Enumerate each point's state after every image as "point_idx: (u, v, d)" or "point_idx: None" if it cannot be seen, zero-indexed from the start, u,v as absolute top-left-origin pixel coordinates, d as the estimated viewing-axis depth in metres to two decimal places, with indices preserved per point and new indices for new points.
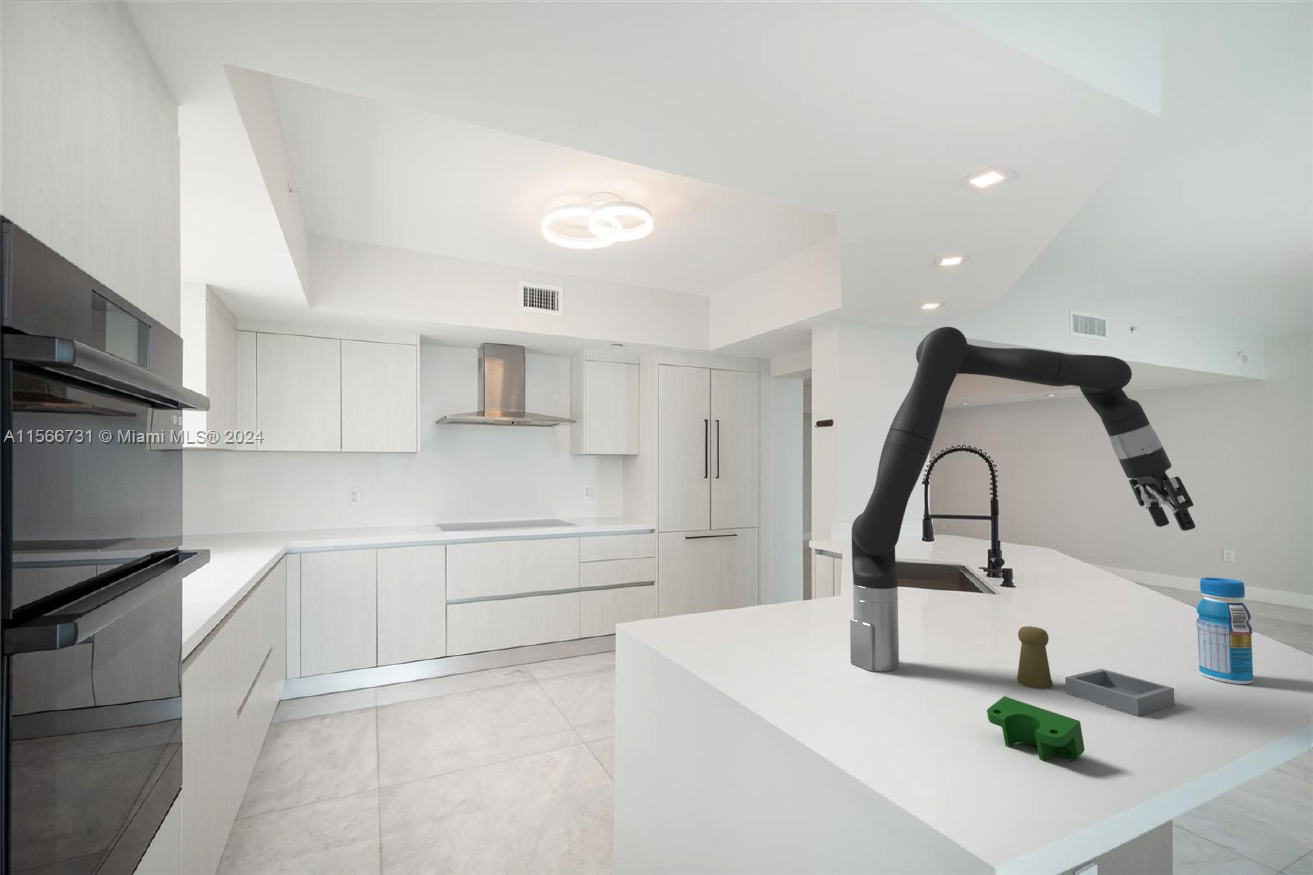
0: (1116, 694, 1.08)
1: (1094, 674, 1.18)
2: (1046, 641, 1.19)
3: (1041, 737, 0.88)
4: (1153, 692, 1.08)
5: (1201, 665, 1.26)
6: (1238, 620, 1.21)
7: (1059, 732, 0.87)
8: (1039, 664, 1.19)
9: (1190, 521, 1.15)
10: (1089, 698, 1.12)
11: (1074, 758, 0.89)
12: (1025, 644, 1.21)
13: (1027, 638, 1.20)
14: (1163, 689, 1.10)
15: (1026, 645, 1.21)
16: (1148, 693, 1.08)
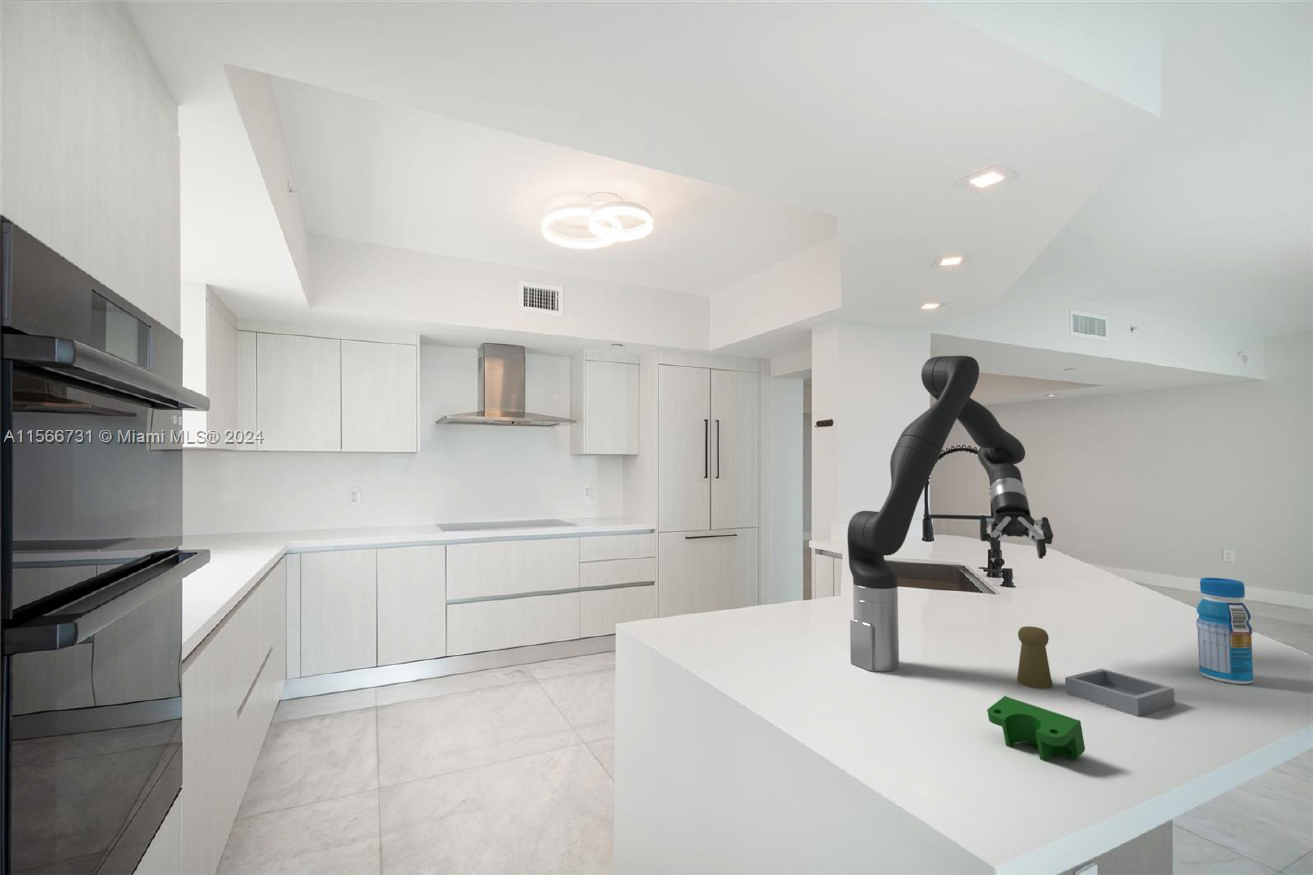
0: (1116, 694, 1.08)
1: (1094, 674, 1.18)
2: (1046, 641, 1.19)
3: (1041, 737, 0.88)
4: (1153, 692, 1.08)
5: (1201, 665, 1.26)
6: (1238, 620, 1.21)
7: (1059, 732, 0.87)
8: (1039, 664, 1.19)
9: None
10: (1089, 698, 1.12)
11: (1074, 758, 0.89)
12: (1025, 644, 1.21)
13: (1027, 638, 1.20)
14: (1163, 689, 1.10)
15: (1026, 645, 1.21)
16: (1148, 693, 1.08)
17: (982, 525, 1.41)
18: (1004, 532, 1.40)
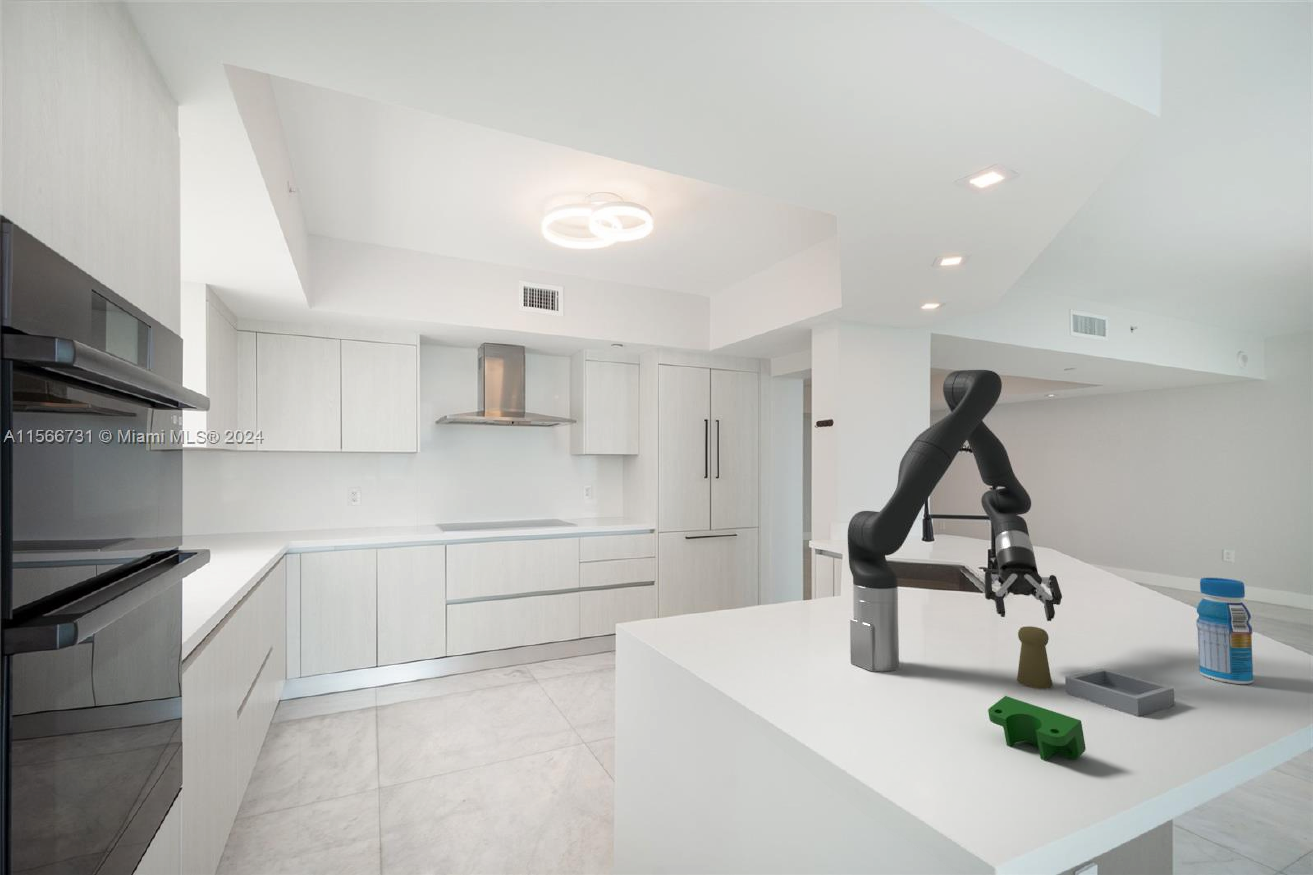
0: (1116, 694, 1.08)
1: (1094, 674, 1.18)
2: (1046, 641, 1.19)
3: (1042, 737, 0.88)
4: (1153, 692, 1.08)
5: (1201, 665, 1.26)
6: (1238, 620, 1.21)
7: (1060, 731, 0.88)
8: (1039, 664, 1.19)
9: None
10: (1089, 698, 1.12)
11: (1075, 757, 0.89)
12: (1025, 644, 1.21)
13: (1027, 638, 1.20)
14: (1163, 689, 1.10)
15: (1026, 645, 1.21)
16: (1148, 693, 1.08)
17: (987, 582, 1.35)
18: (1010, 590, 1.33)
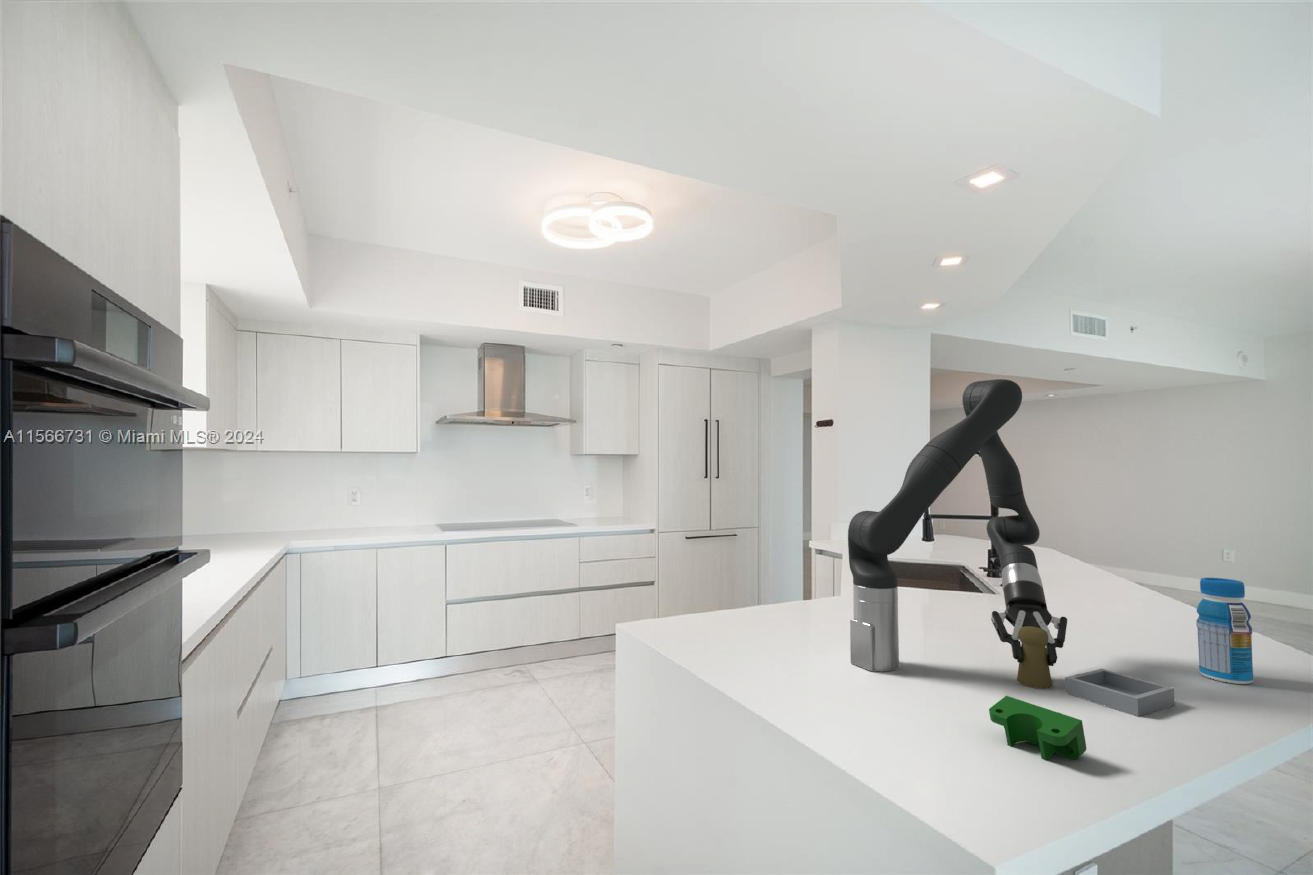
0: (1116, 694, 1.08)
1: (1094, 674, 1.18)
2: (1046, 641, 1.19)
3: (1043, 736, 0.88)
4: (1153, 692, 1.08)
5: (1201, 665, 1.26)
6: (1238, 620, 1.21)
7: (1061, 731, 0.88)
8: (1039, 664, 1.19)
9: None
10: (1089, 698, 1.12)
11: (1076, 757, 0.89)
12: (1025, 644, 1.21)
13: (1027, 638, 1.20)
14: (1163, 689, 1.10)
15: (1026, 645, 1.21)
16: (1148, 693, 1.08)
17: (999, 624, 1.26)
18: None
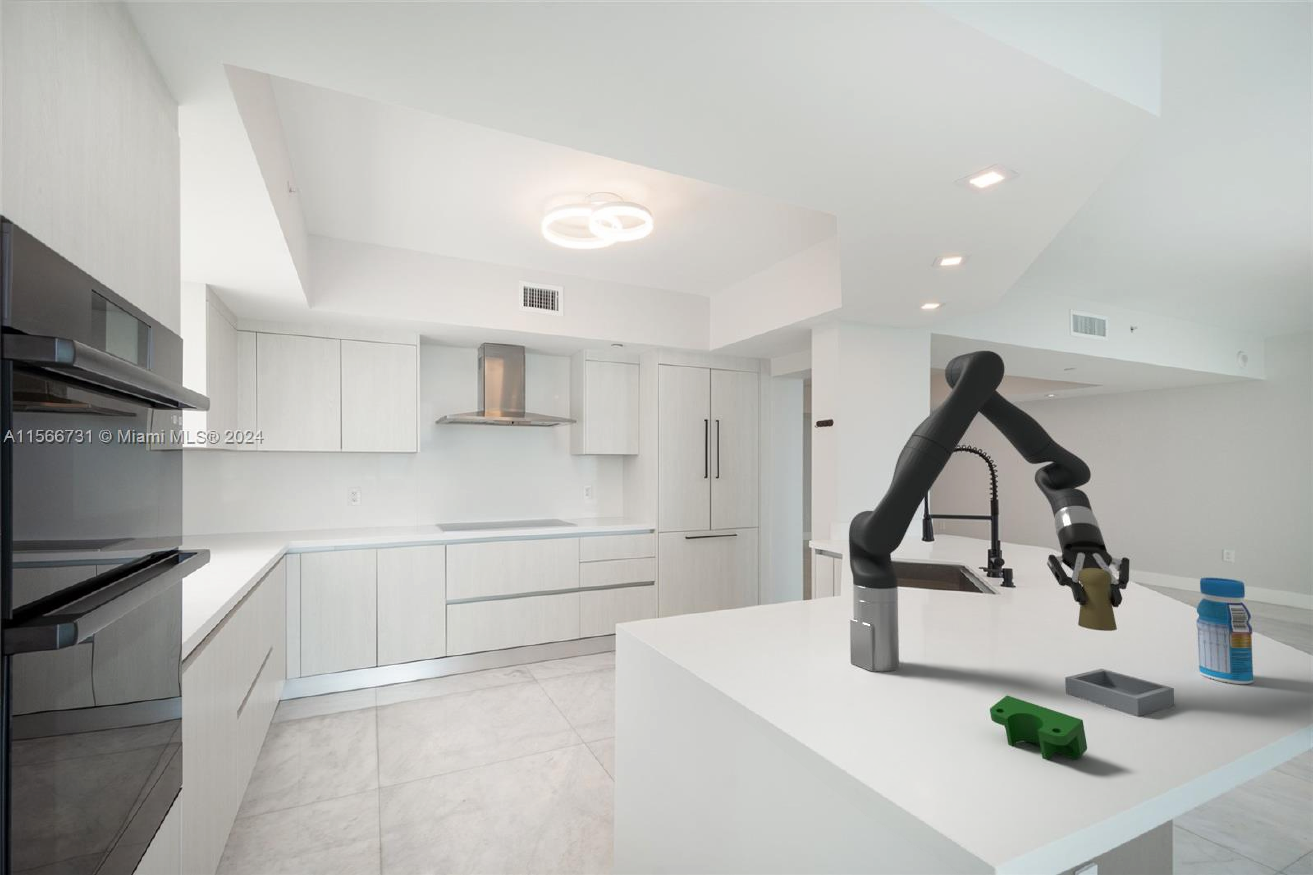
0: (1116, 694, 1.08)
1: (1094, 674, 1.18)
2: (1110, 581, 1.14)
3: (1044, 736, 0.88)
4: (1153, 692, 1.08)
5: (1201, 665, 1.26)
6: (1238, 620, 1.21)
7: (1062, 731, 0.88)
8: (1103, 605, 1.14)
9: None
10: (1089, 698, 1.12)
11: (1077, 757, 0.89)
12: (1087, 586, 1.16)
13: (1090, 579, 1.15)
14: (1163, 689, 1.10)
15: (1088, 586, 1.16)
16: (1148, 693, 1.08)
17: (1057, 567, 1.21)
18: None
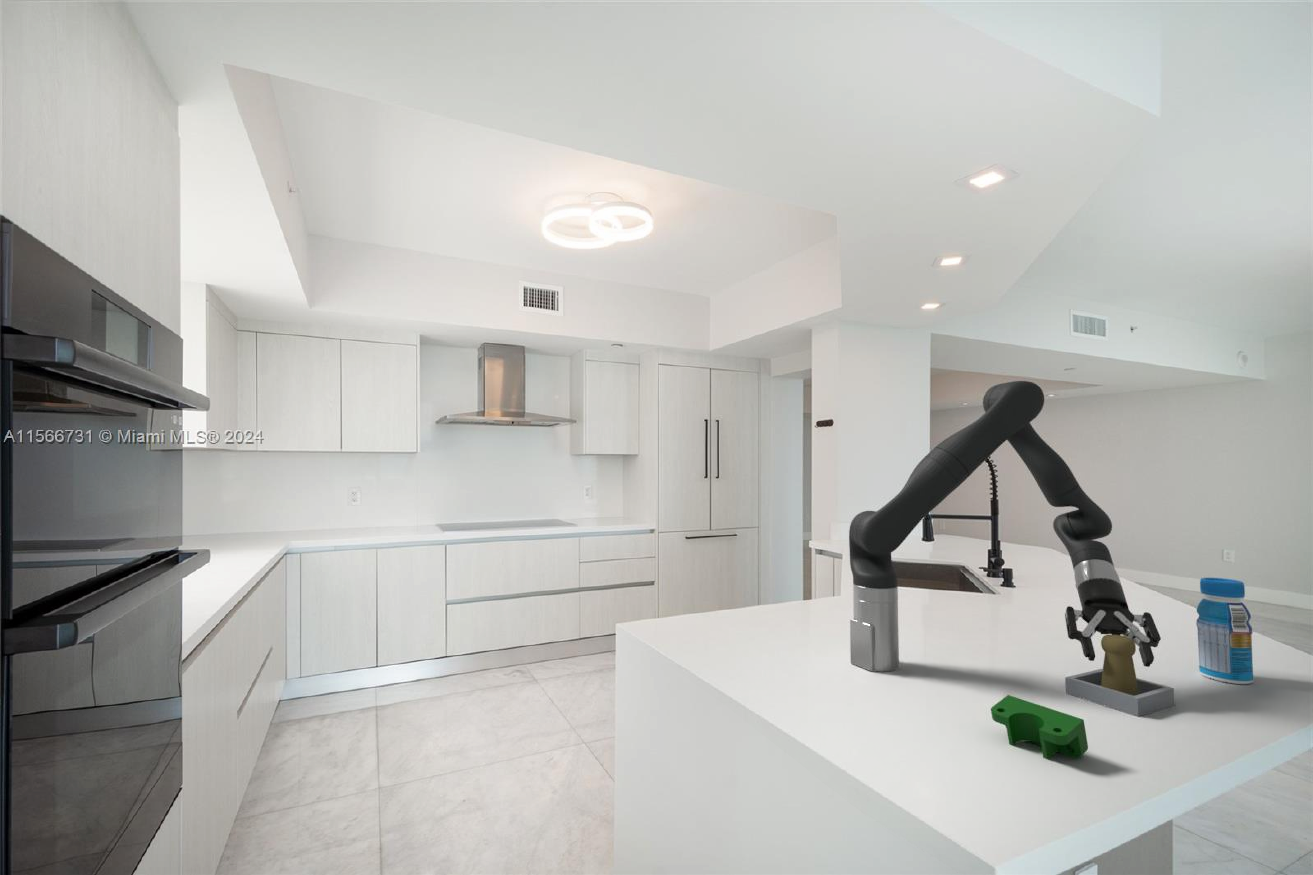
0: (1116, 694, 1.08)
1: (1094, 674, 1.18)
2: (1134, 650, 1.12)
3: (1045, 735, 0.89)
4: (1153, 692, 1.08)
5: (1201, 665, 1.26)
6: (1238, 620, 1.21)
7: (1063, 730, 0.88)
8: (1126, 675, 1.11)
9: None
10: (1089, 698, 1.12)
11: (1078, 756, 0.89)
12: (1110, 654, 1.13)
13: (1113, 648, 1.12)
14: (1163, 689, 1.10)
15: (1111, 654, 1.13)
16: (1148, 693, 1.08)
17: (1070, 620, 1.19)
18: (1097, 629, 1.17)
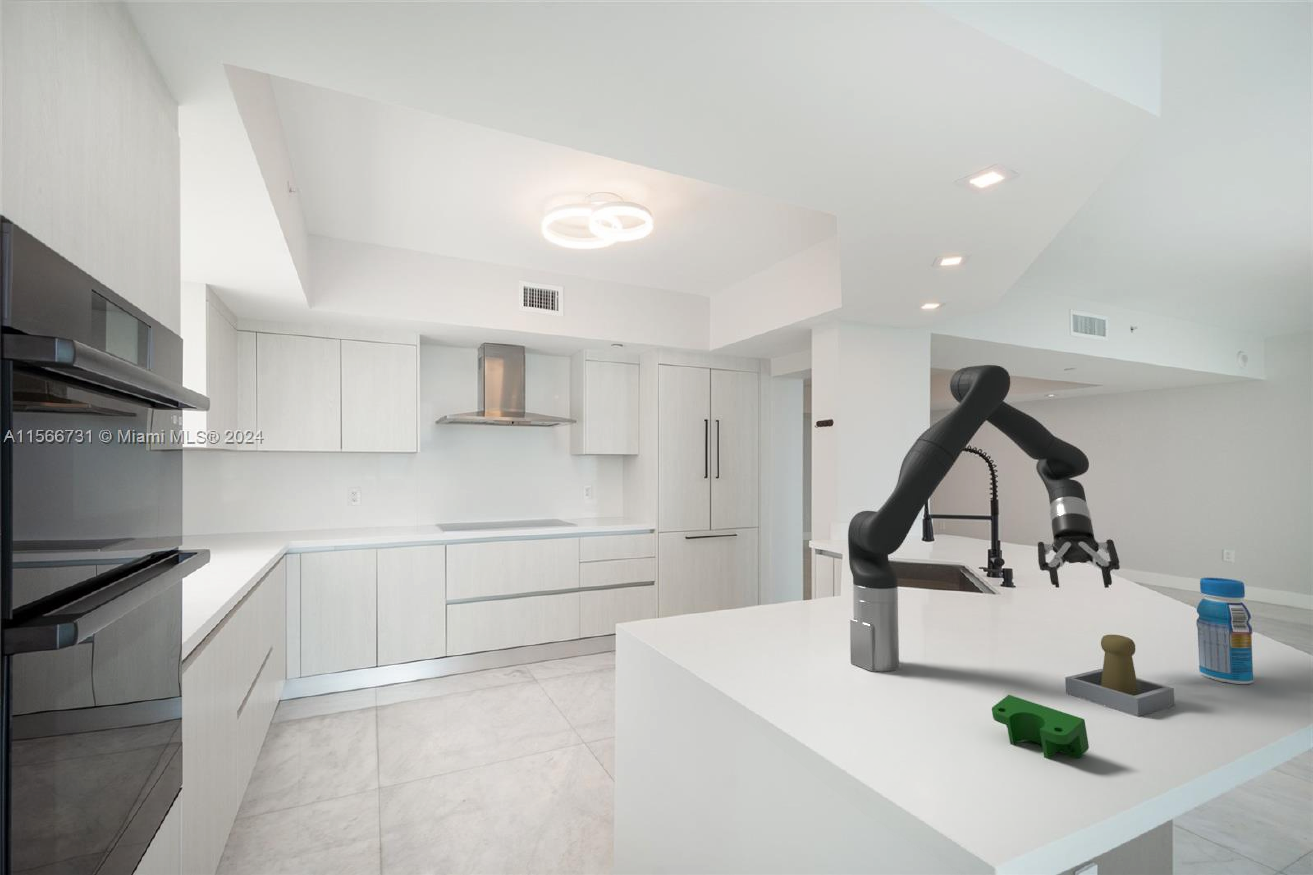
0: (1116, 694, 1.08)
1: (1094, 674, 1.18)
2: (1133, 650, 1.12)
3: (1046, 735, 0.89)
4: (1153, 692, 1.08)
5: (1201, 665, 1.26)
6: (1238, 620, 1.21)
7: (1064, 730, 0.88)
8: (1126, 675, 1.11)
9: None
10: (1089, 698, 1.12)
11: (1078, 756, 0.89)
12: (1110, 654, 1.13)
13: (1113, 648, 1.12)
14: (1163, 689, 1.10)
15: (1111, 654, 1.13)
16: (1148, 693, 1.08)
17: (1040, 553, 1.34)
18: (1065, 559, 1.32)
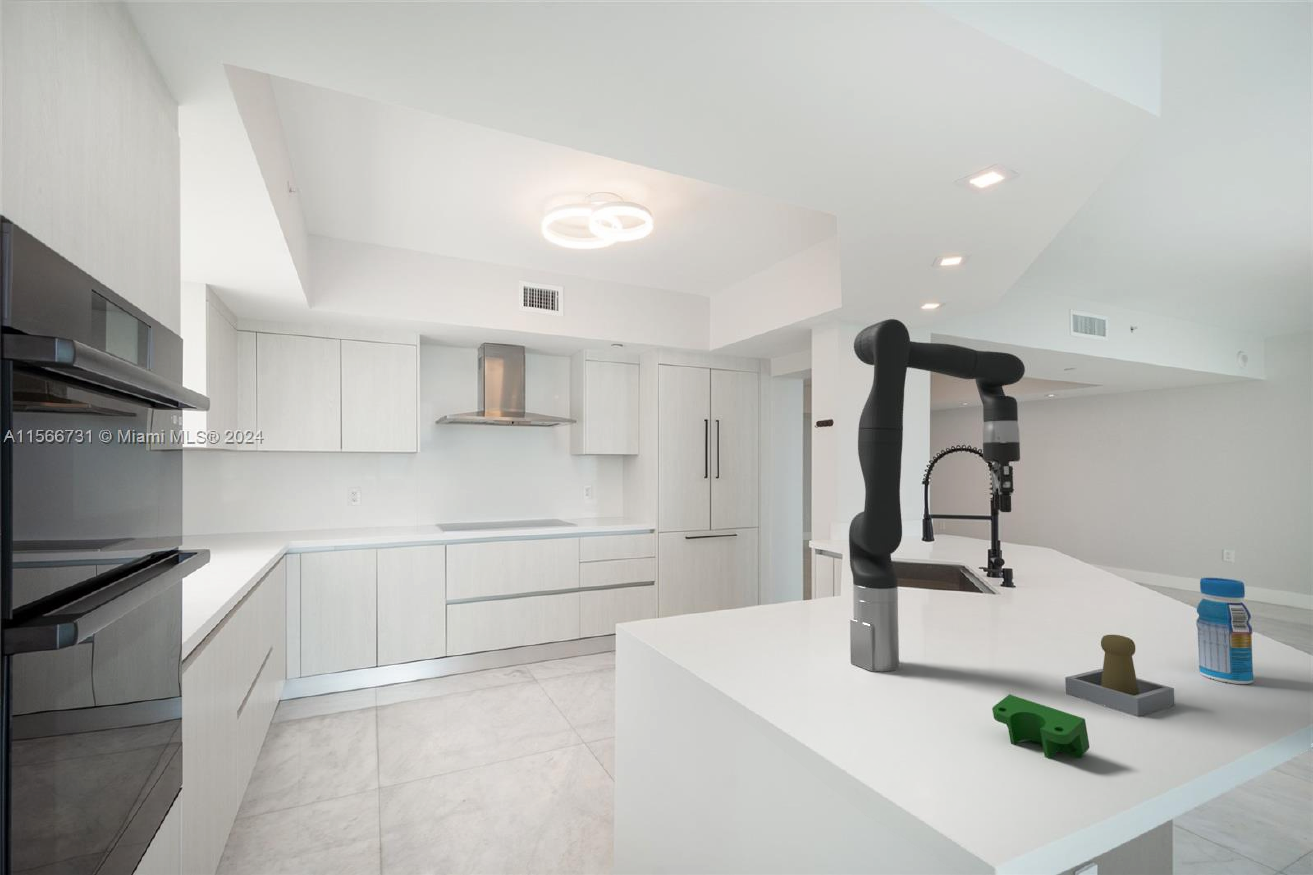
0: (1116, 694, 1.08)
1: (1094, 674, 1.18)
2: (1133, 651, 1.11)
3: (1046, 735, 0.89)
4: (1153, 692, 1.08)
5: (1201, 665, 1.26)
6: (1238, 620, 1.21)
7: (1064, 730, 0.88)
8: (1126, 675, 1.11)
9: (1007, 505, 1.36)
10: (1089, 698, 1.12)
11: (1079, 755, 0.89)
12: (1110, 654, 1.13)
13: (1113, 648, 1.12)
14: (1163, 689, 1.10)
15: (1111, 654, 1.13)
16: (1148, 693, 1.08)
17: None
18: None
